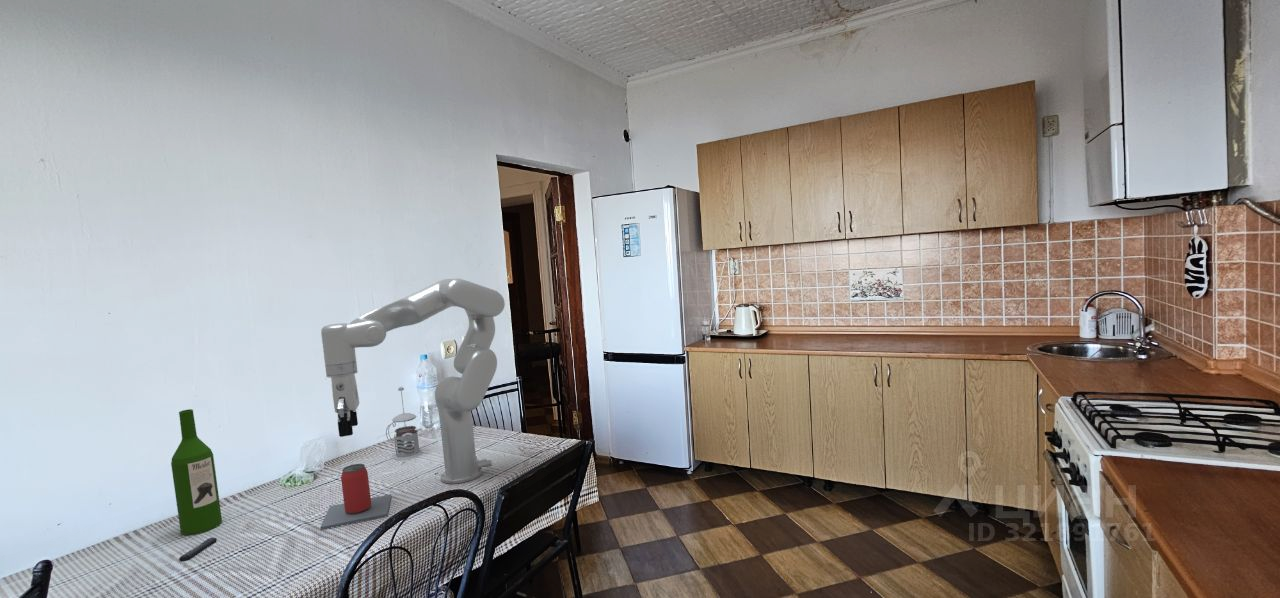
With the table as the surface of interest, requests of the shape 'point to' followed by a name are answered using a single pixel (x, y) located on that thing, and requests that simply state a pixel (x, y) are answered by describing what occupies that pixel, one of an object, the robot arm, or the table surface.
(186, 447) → the wine bottle
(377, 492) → the table surface
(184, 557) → the usb stick
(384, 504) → the mat
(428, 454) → the table surface
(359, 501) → the beer can
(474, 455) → the robot arm
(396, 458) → the french press
